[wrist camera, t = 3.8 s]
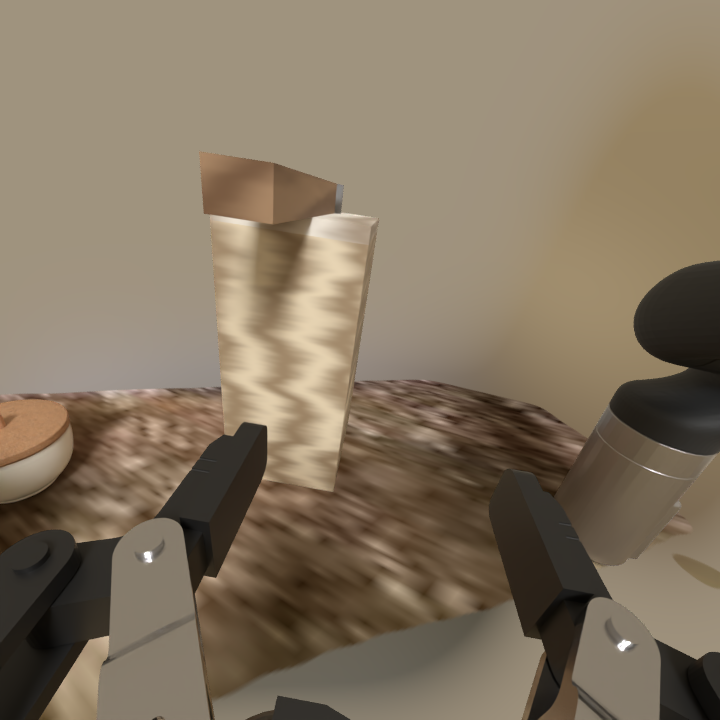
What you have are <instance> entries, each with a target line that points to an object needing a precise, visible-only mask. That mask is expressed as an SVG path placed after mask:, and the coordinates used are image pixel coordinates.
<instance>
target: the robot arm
mask: <svg viewBox="0 0 720 720" xmlns="http://www.w3.org/2000/svg"><path fill="white" fill-rule="evenodd" d="M634 331H635V336H636V338H637V340H638V342H639V343H640V345H641V346H642V347H643V349H645V350H646V351H647V352H648V353H649V354H651V355H653V356H654V357H656V358H658V359H660V360H662V361H665V362H668V363H672V364H676V365H680V366H684V367H688V369H687V370H686V371H683V372H681V373H678V374H675V375H672V376H668V377H663V378H657V379H647V380H634V381H630V382H627V383H625V384H623V385H621V386H620V387H619V388H618V390H617V391H616V393H615V394H614V396H613V398H612V399H611V401H610V403H609V405H608V406H607V408H606V409H605V411H604V413H603V415H602V416H601V418H600V419H599V421H598V423H597V425H596V426H595V428H594V430H593V432H592V433H591V435H590V437H589V438H588V440H587V442H586V443H585V445H584V447H583V448H582V450H581V452H580V453H579V455H578V457H577V458H576V460H575V462H574V464H573V465H572V467H571V469H570V470H569V472H568V474H567V475H566V477H565V479H564V480H563V482H562V484H561V485H560V487H559V489H558V491H557V492H556V494H555V496H554V497H552V495H551V494H550V493H549V492H543V490H542V488H541V486H540V484H539V482H538V480H537V478H536V476H535V475H534V474H533V473H531V472H525V471H519V470H514V469H506V470H505V471H504V473H503V475H502V477H501V479H500V481H499V483H498V485H497V487H496V489H495V491H494V493H493V495H492V497H491V500H490V504H489V517H490V521H491V524H492V528H493V531H494V534H495V538H496V541H497V545H498V548H499V551H500V555H501V558H502V562H503V565H504V568H505V572H506V575H507V578H508V582H509V585H510V589H511V592H512V595H513V599H514V602H515V605H516V609H517V612H518V616H519V619H520V622H521V626H522V629H523V632H524V636H526V637H531V638H536V639H541V640H542V642H543V646H544V649H545V652H544V653H543V654H542V656H541V658H540V662H539V665H538V668H537V671H536V675H535V678H534V681H533V684H532V688H531V691H530V694H529V697H528V701H527V704H526V707H525V711H524V714H523V717H522V720H720V653H718V652H709V653H707V654H705V655H704V656H702V657H701V658H699V659H698V660H696V659H694V658H692V657H690V656H688V655H686V654H684V653H682V652H680V651H678V650H676V649H674V648H672V647H670V646H668V645H666V644H664V643H662V642H660V641H658V640H656V639H654V638H653V637H652V635H651V633H650V632H649V630H648V629H647V628H646V627H645V625H644V624H643V623H642V622H641V621H640V620H639V619H638V618H637V617H636V616H635V615H634V614H633V613H632V612H630V611H629V610H628V609H627V608H626V607H624V606H622V605H621V604H619V603H617V602H615V601H614V600H612V598H611V596H610V594H609V592H608V591H607V589H606V587H605V585H604V583H603V582H602V580H601V578H600V576H599V574H598V572H597V570H596V568H595V566H594V565H593V563H592V561H591V560H593V561H595V562H598V563H601V564H604V565H610V566H615V565H616V566H617V565H621V564H623V563H625V562H626V560H627V559H629V558H633V559H637V558H638V557H639V556H640V555H641V553H642V552H643V551H644V550H645V549H646V548H647V547H648V545H649V544H650V543H651V542H652V541H653V540H654V538H655V537H656V536H657V535H658V534H659V533H660V532H661V530H662V529H663V528H664V527H665V526H666V525H667V524H668V522H669V521H670V520H671V519H672V518H673V517H674V516H675V514H676V513H677V512H678V511H679V510H680V508H681V503H680V502H679V499H680V497H681V496H682V495H683V494H684V493H685V492H686V491H687V489H688V488H689V487H690V486H691V485H692V483H693V482H694V481H695V480H696V479H697V478H698V476H699V475H700V474H701V473H702V471H703V470H704V469H705V468H706V467H707V465H708V464H709V463H710V462H711V461H712V460H713V459H714V457H715V456H716V455H717V454H718V453H719V452H720V261H713V262H705V263H700V264H695V265H692V266H689V267H685V268H683V269H680V270H678V271H676V272H674V273H673V274H671V275H669V276H667V277H666V278H664V279H663V280H662V281H660V282H659V283H658V284H656V285H655V286H654V287H653V288H652V289H651V290H650V291H649V292H648V293H647V294H646V295H645V297H644V298H643V299H642V301H641V302H640V304H639V306H638V308H637V310H636V313H635V316H634ZM266 465H267V426H266V425H261V424H255V423H249V422H243V423H242V424H241V425H240V427H239V428H238V430H237V431H236V433H235V434H234V436H230V435H222V436H221V437H220V438H218V439H217V440H215V441H214V442H212V443H211V444H210V445H209V446H208V447H207V449H206V450H205V451H204V453H203V454H202V455H201V457H200V459H199V460H198V461H197V462H196V463H195V465H194V466H193V467H192V470H191V471H190V472H189V473H188V474H187V476H186V477H185V478H184V480H183V481H182V482H181V484H180V485H179V486H178V488H177V489H176V490H175V492H174V493H173V494H172V496H171V497H170V498H169V500H168V501H167V503H166V504H165V505H164V507H163V508H162V509H161V511H160V512H159V513H158V514H157V516H156V517H155V518H154V519H152V520H148V521H146V522H143V523H141V524H139V525H137V526H136V527H134V528H133V529H131V530H130V531H129V532H128V533H126V534H125V535H124V536H122V537H118V538H112V539H105V540H97V541H90V542H82V543H76V542H75V540H74V538H73V536H72V535H71V534H70V533H69V532H66V531H63V530H47V531H43V532H39V533H36V534H33V535H31V536H28V537H26V538H24V539H22V540H20V541H19V542H17V543H15V544H14V545H12V546H11V547H9V548H8V549H7V550H5V551H4V552H3V553H2V554H1V555H0V720H39V718H40V716H41V715H42V713H43V712H44V710H45V708H46V707H47V705H48V704H49V702H50V701H51V699H52V697H53V696H54V694H55V693H56V691H57V689H58V688H59V686H60V685H61V683H62V682H63V680H64V678H65V677H66V675H67V674H68V672H69V671H70V669H71V667H72V666H73V664H74V663H75V661H76V659H77V658H78V656H79V655H80V653H81V652H82V650H83V648H84V647H85V645H86V644H87V642H88V640H90V639H94V638H99V637H104V636H109V651H108V657H107V659H106V660H105V661H104V662H103V664H102V667H101V671H100V676H99V686H98V703H97V720H215V719H214V713H213V706H212V700H211V694H210V688H209V682H208V676H207V670H206V663H205V657H204V650H203V644H202V637H201V631H200V624H199V617H198V611H197V604H196V598H195V592H196V590H197V588H198V586H199V584H200V582H201V580H202V578H203V576H209V577H215V578H216V577H217V575H218V572H219V570H220V568H221V566H222V564H223V562H224V560H225V557H226V555H227V553H228V551H229V549H230V547H231V545H232V542H233V540H234V538H235V536H236V534H237V532H238V529H239V527H240V525H241V523H242V521H243V519H244V517H245V514H246V512H247V510H248V508H249V506H250V504H251V502H252V499H253V497H254V495H255V493H256V491H257V489H258V487H259V484H260V482H261V480H262V478H263V475H264V473H265V469H266ZM246 720H350V719H348V718H347V717H345V716H344V715H342V714H340V713H339V712H337V711H335V710H333V709H332V708H330V707H329V706H327V705H323V704H318V703H313V702H308V701H302V700H297V699H292V698H287V697H282V696H278V697H277V701H276V705H275V709H274V710H272V711H267V712H263V713H260V714H258V715H255V716H252V717H250V718H248V719H246Z"/></svg>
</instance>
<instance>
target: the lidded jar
mask: <svg viewBox="0 0 720 720" xmlns="http://www.w3.org/2000/svg"><path fill="white" fill-rule="evenodd" d="M73 444H74V441H73V431H72V428H71V424H70V417H69V414H68V411H67V409H66V408H65V407H64V406H62V405H60V404H59V403H56V402H53V401H48V400H39V399H29V400H17V401H10V402H4V403H0V504H7V503H13V502H17V501H21V500H24V499H27V498H29V497H32V496H34V495H36V494H38V493H40V492H41V491H43V490H45V489H46V488H47V487H49V486H50V485H51V484H52V483H53V482H54V481H55V480H56V479H57V477H58V476H59V475H60V473H61V472H62V471H63V470H64V469H65V467H66V466H67V464H68V462H69V460H70V459H71V455H72V452H73Z"/></svg>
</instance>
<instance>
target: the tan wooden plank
mask: <svg viewBox="0 0 720 720" xmlns="http://www.w3.org/2000/svg"><path fill="white" fill-rule="evenodd" d="M199 154H200V167H201V181H202V194H203V207H204V214H210V215H216V216H223V217H229V218H235V219H241V220H248V221H254V222H260V223H267V224H278V223H284V222H289V221H295V220H301V219H306V218H312V217H317V216H323V215H328V214H334V213H336V214H341V207H342V206H341V205H342V197H343V187H344V185H340V184H336V183H332V182H330V181H327V180H324V179H321V178H318V177H314V176H312V175H308V174H305V173H302V172H299V171H296V170H293V169H290V168H287V167H284V166H281V165H278V164H275V163H271V162H264V161H258V160H251V159H245V158H238V157H232V156H225V155H218V154H212V153H206V152H199Z"/></svg>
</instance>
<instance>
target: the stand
mask: <svg viewBox="0 0 720 720" xmlns="http://www.w3.org/2000/svg"><path fill="white" fill-rule="evenodd" d="M378 222H379V218H374V217H368V216H362V215H355V214H348V213H342V212H341V214H336V213H334V214H328V215H323V216H317V217H312V218H306V219H301V220H295V221H289V222H284V223H278V224H267V223H260V222H254V221H248V220H241V219H235V218H229V217H223V216H216V215H210V223H211V238H212V254H213V267H214V283H215V298H216V313H217V328H218V343H219V358H220V372H221V388H222V403H223V418H224V433H225V435H230V436H234V434H235V433H236V431H237V430H238V428H239V427H240V425H241V424H242V423H243V422H249V423H255V424H261V425H266V426H267V465H266V469H265V473H264V475H263V478H262V479H263V480H269V481H274V482H280V483H286V484H291V485H297V486H303V487H308V488H314V489H319V490H325V491H331V492H333V490H334V486H335V481H336V476H337V471H338V466H339V462H340V457H341V452H342V447H343V443H344V438H345V433H346V428H347V423H348V419H349V413H350V406H351V399H352V393H353V386H354V380H355V379H354V378H355V372H356V367H357V360H358V353H359V347H360V340H361V333H362V326H363V319H364V314H365V307H366V300H367V294H368V287H369V281H370V274H371V268H372V261H373V255H374V248H375V241H376V235H377V227H378Z"/></svg>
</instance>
